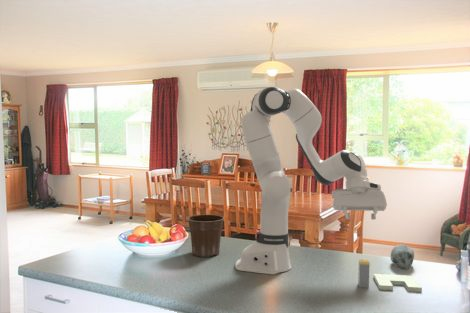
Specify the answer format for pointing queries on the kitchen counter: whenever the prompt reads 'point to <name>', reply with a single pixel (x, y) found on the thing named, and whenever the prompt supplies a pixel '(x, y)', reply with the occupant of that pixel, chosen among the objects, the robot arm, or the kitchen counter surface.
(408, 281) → the notched board
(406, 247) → the grey oval lump
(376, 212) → the robot arm
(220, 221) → the plant pot
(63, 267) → the kitchen counter surface
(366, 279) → the grey and yellow block
